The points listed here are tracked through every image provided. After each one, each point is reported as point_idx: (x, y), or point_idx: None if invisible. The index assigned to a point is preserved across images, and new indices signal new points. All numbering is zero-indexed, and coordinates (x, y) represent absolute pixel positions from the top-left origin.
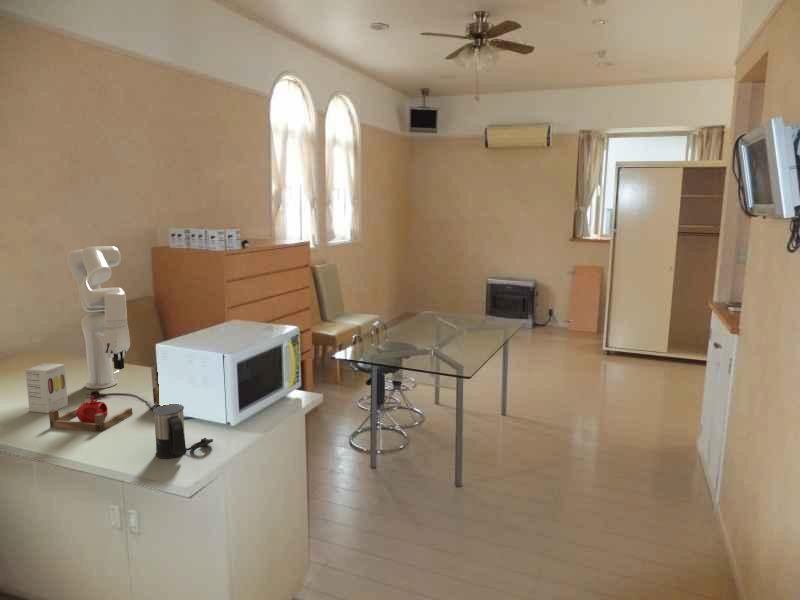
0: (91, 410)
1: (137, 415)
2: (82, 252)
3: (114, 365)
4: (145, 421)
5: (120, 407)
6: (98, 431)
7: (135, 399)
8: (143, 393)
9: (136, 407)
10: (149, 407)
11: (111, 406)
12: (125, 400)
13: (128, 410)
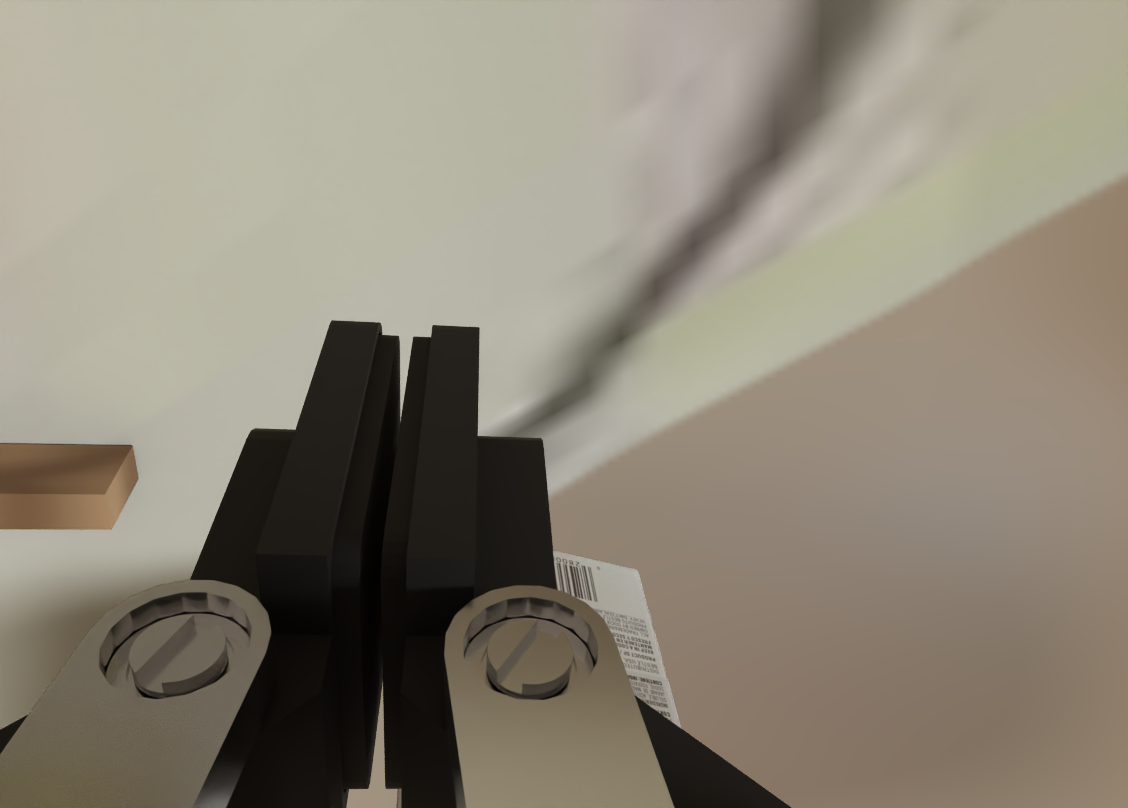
0: None
1: (128, 544)
2: None
3: (314, 387)
4: (16, 692)
5: (304, 197)
6: None
7: (643, 214)
8: (896, 181)
9: None
10: None
11: (305, 31)
12: (588, 91)
13: (36, 523)
